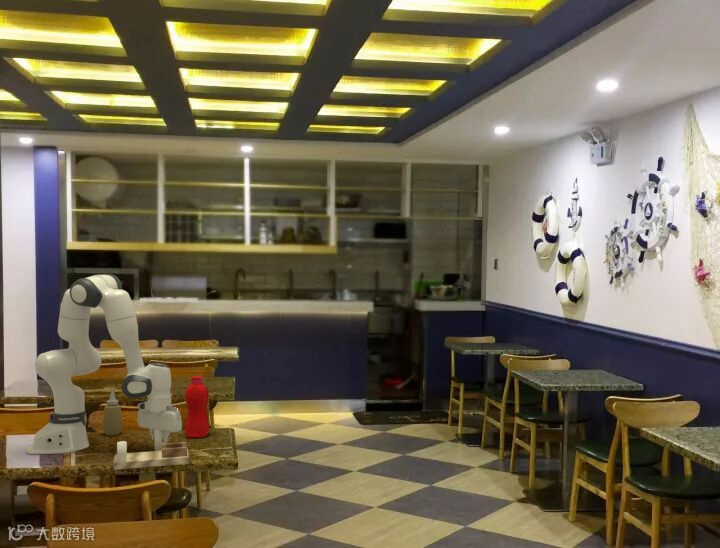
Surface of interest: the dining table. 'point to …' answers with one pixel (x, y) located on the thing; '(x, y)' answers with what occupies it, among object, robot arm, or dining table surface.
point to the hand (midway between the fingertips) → (159, 441)
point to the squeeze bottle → (112, 417)
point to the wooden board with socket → (155, 457)
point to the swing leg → (121, 451)
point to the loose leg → (158, 439)
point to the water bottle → (196, 409)
